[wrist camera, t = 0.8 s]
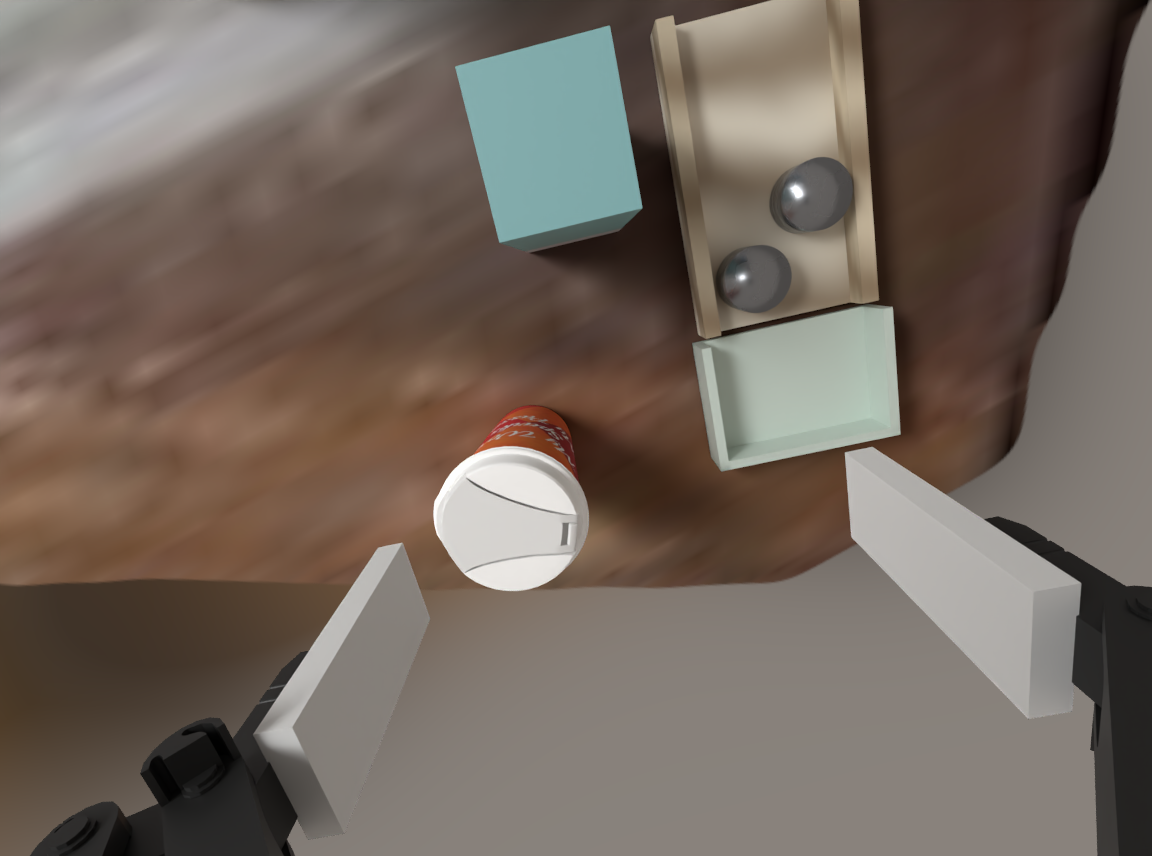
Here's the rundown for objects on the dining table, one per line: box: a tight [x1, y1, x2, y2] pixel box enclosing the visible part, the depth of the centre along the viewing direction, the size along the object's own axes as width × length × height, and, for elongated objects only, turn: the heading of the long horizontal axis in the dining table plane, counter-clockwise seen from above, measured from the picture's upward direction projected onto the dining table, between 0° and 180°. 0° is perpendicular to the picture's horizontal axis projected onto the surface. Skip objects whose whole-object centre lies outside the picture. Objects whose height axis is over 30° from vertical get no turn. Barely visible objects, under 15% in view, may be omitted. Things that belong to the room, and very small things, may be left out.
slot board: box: [650, 0, 879, 339], centre depth 33 cm, size 18×11×2 cm, turn 13°
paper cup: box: [433, 405, 589, 591], centre depth 33 cm, size 8×8×14 cm
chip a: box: [769, 157, 853, 234], centre depth 33 cm, size 4×4×2 cm
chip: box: [716, 245, 792, 313], centre depth 34 cm, size 4×4×2 cm
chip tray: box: [692, 304, 901, 472], centre depth 37 cm, size 8×12×3 cm
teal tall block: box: [455, 25, 642, 253], centre depth 28 cm, size 6×6×14 cm
